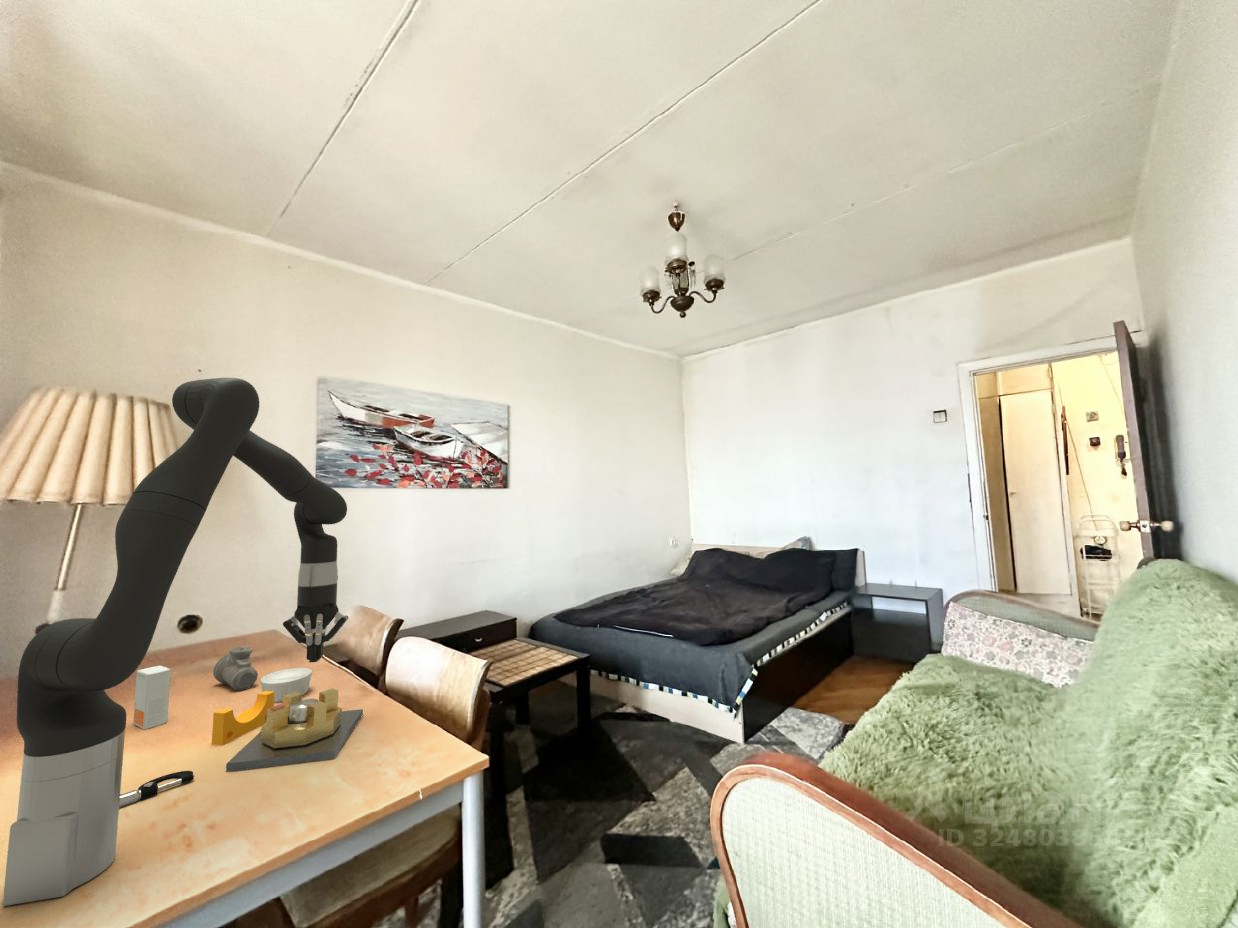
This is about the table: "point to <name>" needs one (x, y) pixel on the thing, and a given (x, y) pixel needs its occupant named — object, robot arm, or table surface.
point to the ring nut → (318, 724)
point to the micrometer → (154, 787)
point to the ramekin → (287, 682)
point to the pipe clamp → (241, 719)
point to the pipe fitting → (236, 669)
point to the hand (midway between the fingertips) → (314, 661)
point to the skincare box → (152, 697)
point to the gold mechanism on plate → (318, 750)
